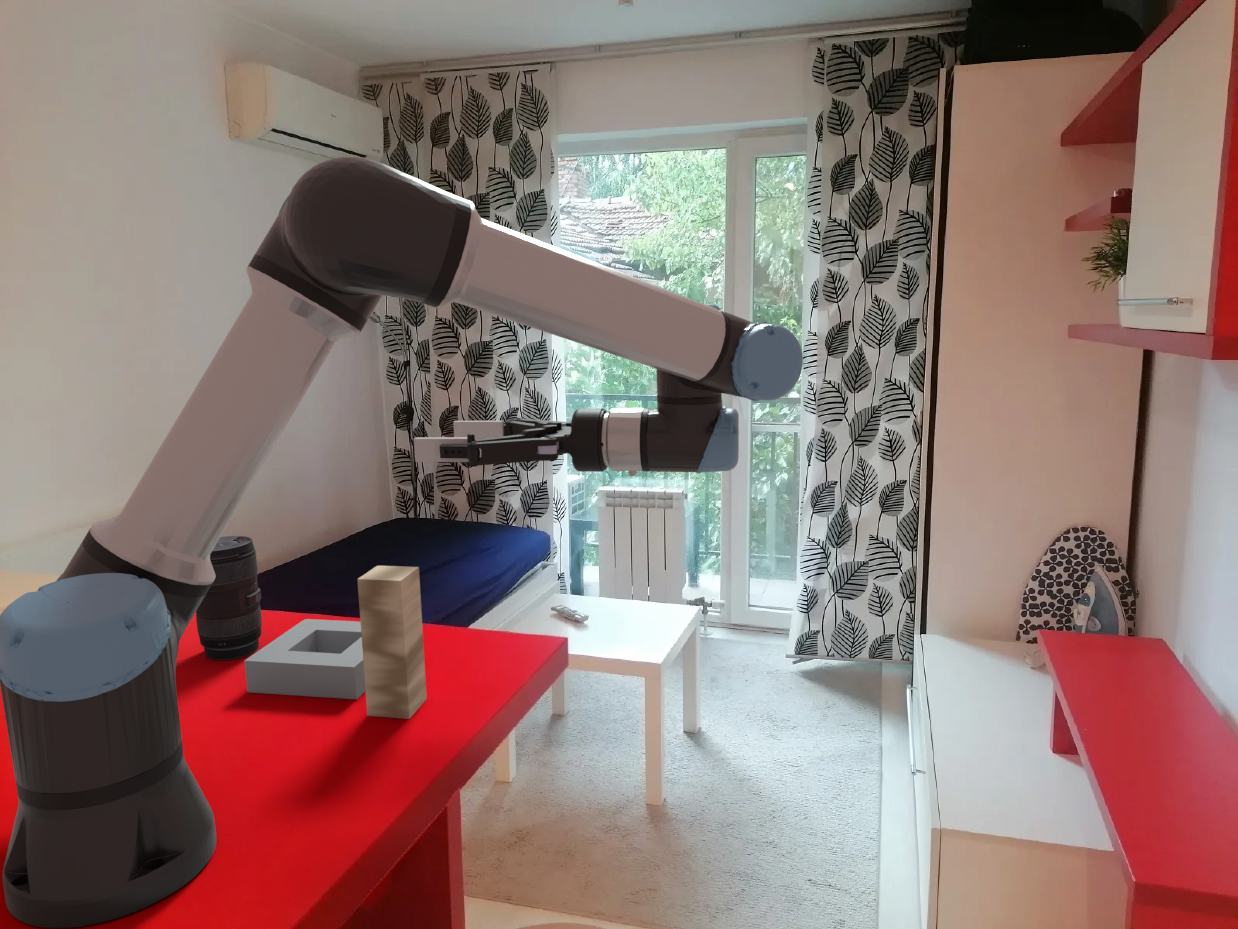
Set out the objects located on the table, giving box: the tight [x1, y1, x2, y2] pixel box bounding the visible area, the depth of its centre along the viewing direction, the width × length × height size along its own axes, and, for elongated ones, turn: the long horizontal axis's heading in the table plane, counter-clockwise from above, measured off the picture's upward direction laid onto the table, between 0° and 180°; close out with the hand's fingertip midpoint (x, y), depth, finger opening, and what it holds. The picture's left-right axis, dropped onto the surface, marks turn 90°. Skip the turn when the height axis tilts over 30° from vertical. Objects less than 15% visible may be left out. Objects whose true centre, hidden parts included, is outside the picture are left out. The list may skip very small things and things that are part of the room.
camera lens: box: [195, 535, 263, 661], centre depth 116 cm, size 8×8×15 cm
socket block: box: [243, 618, 366, 700], centre depth 110 cm, size 14×14×4 cm
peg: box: [357, 565, 428, 720], centre depth 99 cm, size 5×5×16 cm
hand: (436, 440), depth 107 cm, fingers open, 13 cm apart
